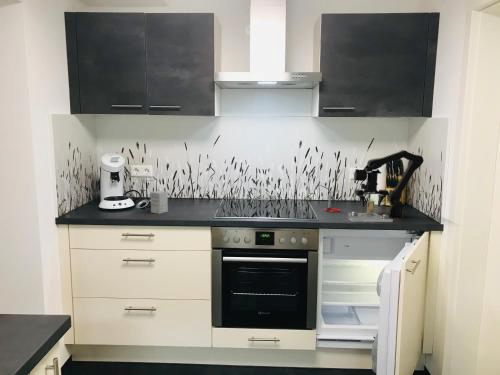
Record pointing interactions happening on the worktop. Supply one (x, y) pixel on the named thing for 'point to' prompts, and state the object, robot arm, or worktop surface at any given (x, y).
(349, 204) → the worktop surface
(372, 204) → the brass pin
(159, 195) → the supplement box
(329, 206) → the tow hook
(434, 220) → the worktop surface
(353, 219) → the plate with square hole
